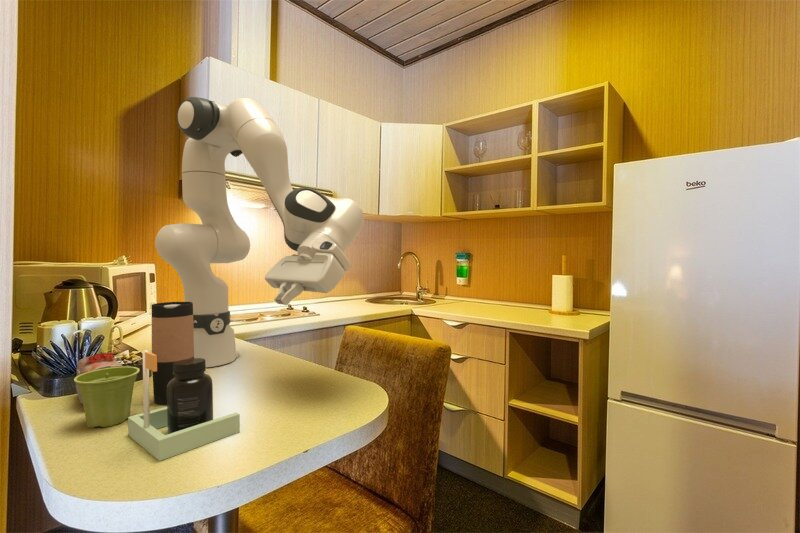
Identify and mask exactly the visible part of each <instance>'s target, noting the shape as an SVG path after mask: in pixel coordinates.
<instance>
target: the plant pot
mask: <svg viewBox="0 0 800 533" xmlns="http://www.w3.org/2000/svg"><path fill="white" fill-rule="evenodd" d="M138 374H140V368H139V367H137V366H124V367H112V368H105V369H99V370H94V371H90V372H87V373H83V374H81V375H78V376H77V375H76V376H75V377H74V379H73V382H74V383H75V384H76V383H77V385H78V389H79V390H80V391H81V396H82V401H83V404H82V405H83V406H82V407H83V409H84V415H85V421H86V426H87V427H89V428H96V427H101V428H108V427H112V426H115V425H119V424H121V423H123V422H125V420H127V419H128V417H130V414H131V406H132V401H133V392H134V388H135V387H134V386H135V381H137V377H138Z"/></svg>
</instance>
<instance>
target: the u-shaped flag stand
mask: <svg viewBox="0 0 800 533" xmlns="http://www.w3.org/2000/svg"><path fill="white" fill-rule="evenodd" d="M150 371H151V372H152V371H154V372H155V371H157V355H155V354H153V353H152V352H150V351H149V349H142V389H143V390H142V395H143V396H142V399H143V401H142V403H143V406H142V408H143V412H142V413H139V414H135V415H134V414H133V415H131V416H130V415H129V417H128V418H127V426H128V427H127V435H128V436H129V437H130V438H131V439H132V440H133V441H134V442H136V443H137V444H138V445H140V447H142V448H143V449H144V450H145V451H147V453H149V454H150V455H151V456H152V457H154V458H155V459H156V460H157V461H158V462H162V461H164V460H167V459H169V458H173V457H175V456H177V455H180V454H183V453H185V452H189V451H192V450H193V449H197V448H199V447H202V446H204V445H208V444H210V443H213V442H216V441H218V440H221V439H224V438H227V437H230V436H232V435H235V434H238V433H240V431H241V427H240V426H241V424H240V421H241V420H240V419H241V417H240V416H241V414H240V413H238V412H233V413H230V414H226V415H224V416H221V417H218V418H215V419H214V418H213V420H211V421H208V422H205V423H202V424H198V425H195V426H192V427H189V428H186V429H183V430H180V431H177V432H174V433H171V434H168V433H167V434H164V433H162V432H161V431H159V429H163V428H166V427H168V426H167V406H164V407H160V408H157V409H153V410H150V406H151V405H150V404H151V403H150Z"/></svg>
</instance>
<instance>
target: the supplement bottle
mask: <svg viewBox="0 0 800 533" xmlns="http://www.w3.org/2000/svg"><path fill="white" fill-rule="evenodd" d="M206 370H207V367H206V362H205V359H203V358H191V359H184V360H180V361H177V362H175V363H174V364H173V375H175V377H174V378H173V379H171V380H170V381H169V383H168V385H167V405H166V407H167V426H166V427H167V434H171V433H174V432H177V431H180V430H183V429H186V428H189V427H192V426H195V425H198V424H202V423H205V422H208V421H211V420H214V394H213V390H214V389H213V387H214V386H213V379H212V377H211V375H209V374H207V373H205V371H206Z"/></svg>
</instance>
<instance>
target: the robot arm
mask: <svg viewBox="0 0 800 533" xmlns="http://www.w3.org/2000/svg"><path fill="white" fill-rule="evenodd" d="M176 123H177V126H178V128H179V130H180V132H181V133H182V134H184V135H185V136H186V137H188V139H187V140H186V141H185V143H184V146H183V153H182V160H181V162H182V163H181V180H182V182H181V183H182V184H181V186H182V187H181V188H182V201H183V203H184V205H185V206H186V207H187V208H189V209H190V211H193V212H195V214H197V216H198V217H199V219H200V221H201V224H200V223H199V224H198V223H185V222H181V223H173V224H166V225H164V226H162V227H161V228H160V229H159V230H158V232H157V234H156V236H155V238H154V239H155V240H154V245H155V250H156V252H157V254H158V255H159V257H160V258H161V259H162V260H163V261H165V262H166V263H168V264H169V265H170V266H171V267H172V268H174V270H175V271H176V272H177V274H178V277H179V278H180V281H181V283H182V286H183V295H184V302H192V303H193V328H194V358H203V359H205V362H206V368H212V367H218V366H222V365H226V364H229V363H232V362H234V361H235V360H236V358H238V357H240V356H241V353H240V351H237V348H236V336H235V330H234V328H232V327H231V325H230V324H231V319H232V318H231V317H232V316H231V311H230V310H229V286H228V284H227V282H226V281H224V279H222V278H220V277H218V276H216V275H215V274H214V273H213V270H212V268H211V264H231V263H235V262H239V261H243V260H244V259H246V257H247V256H248V254H249V253H250V250H251V240H250V238H249V236H248V234H247V233H246V231H245V230H243V229H242V228H241V227H240V226H239V225H238V224H237V222H236V221H235V219H234V217H233V215H232V213H231V210H230V208H229V203H228V196H227V182H226V180H227V179H226V178H227V177H226V164H225V163H226V158H227V156H228V155H229V154H230V155H232V156H233V157H235V158H237V157H239V156H241V155H243V156H244V157H245V159H246V160H247V162H248V164H249V165H250V166H251V168H252V170H253V171H254V173H255V175H256V176H257V178H258V179H259V181H260V183H261V184H262V186H263V188H264V190H265V191H266V193H267V195H268V197H269V199H270V201H271V204H272V206H274V208H275V210H276V213H277V214H278V216H279V218H280V219H281V223H282V226H283V232H284V233H283V237H284V242H285V244H286V245H287V246H288V248H290V249H291V250H293V251H294V252H297V254H296V253H295V254H291V255H285V256H284V257H282V258H281V259H279V260H278V261H277V262H276V263H275V264H274V265H273V266H272V267H271V268H270V270H268V272H266V274H265V277H264V280H265V281H266V283H267V284H268V285H269V286H271V288H273V289H278V292H277V294H276V295H275V296H274V298H273V299H274V302H275V303H276V304H277V305H284V306H288V305H289V304H290V302H291V301H292V300H293V299H295V298H296V297H298V296H300V295H301V294H302V293H303V292H311V293H319V294H320V293H322V294H328V293H329V292H331V291H333V290H334V289H335V288H336V287H337V285H338V284H339V283H340V281H341V280H342V278H343V277H344V276H345V272H347V271H349V270H350V268H351V266H352V264H351V262H350V261H349V259H348V257H347V255H345V250H346V249H347V248H349V247H350V246H351V245H352V244H353V242H354V241H355V239H356V238H357V237H358V235H359V234H360V232H361V230H362V228H363V226H364V224H365V214H364V212H363V209H362V208H361V206H360V205H359V204H358V203H357V202H356V201H355V200H353V199H351V198H348V197H343V198H341V197H339V198H337V197H336V198H335V197H331V196H327V195H325V194H322V193H321V192H320V191H318V190H316V189H314V188H312V187H299V188H295V189H293V186H292V182H291V180H290V172H289V158H288V157H289V155H288V148H287V144H286V141H285V139H284V136H283V134H282V131H281V130H280V128H279V126H278V125H277V124H276V122H275V120H274V119H273V118H272V117H271V115H270V114H269V113H268V112H267V111H266V110H265V108H264V107H262V105H260V103H258V102H257V101H256V100H255V99H252V98H250V97H238V98H235V99H233V100H232V101H231V102H230V103H229V104H228V105H224V104H220V103H219V102H218V103H217V102H215V100H214V101H213V100H210V99H207V98H203V97H197V96H190V97H187V98H185V99H184V100H183V101H181V103H180V104H179V106H178V109H177V110H176Z"/></svg>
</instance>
